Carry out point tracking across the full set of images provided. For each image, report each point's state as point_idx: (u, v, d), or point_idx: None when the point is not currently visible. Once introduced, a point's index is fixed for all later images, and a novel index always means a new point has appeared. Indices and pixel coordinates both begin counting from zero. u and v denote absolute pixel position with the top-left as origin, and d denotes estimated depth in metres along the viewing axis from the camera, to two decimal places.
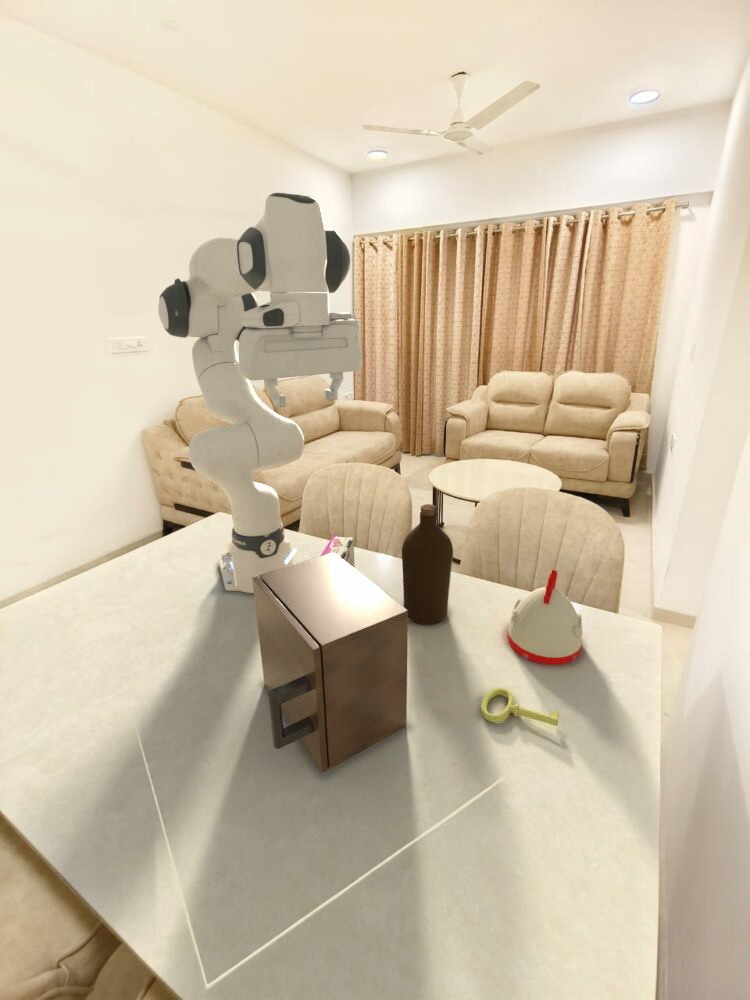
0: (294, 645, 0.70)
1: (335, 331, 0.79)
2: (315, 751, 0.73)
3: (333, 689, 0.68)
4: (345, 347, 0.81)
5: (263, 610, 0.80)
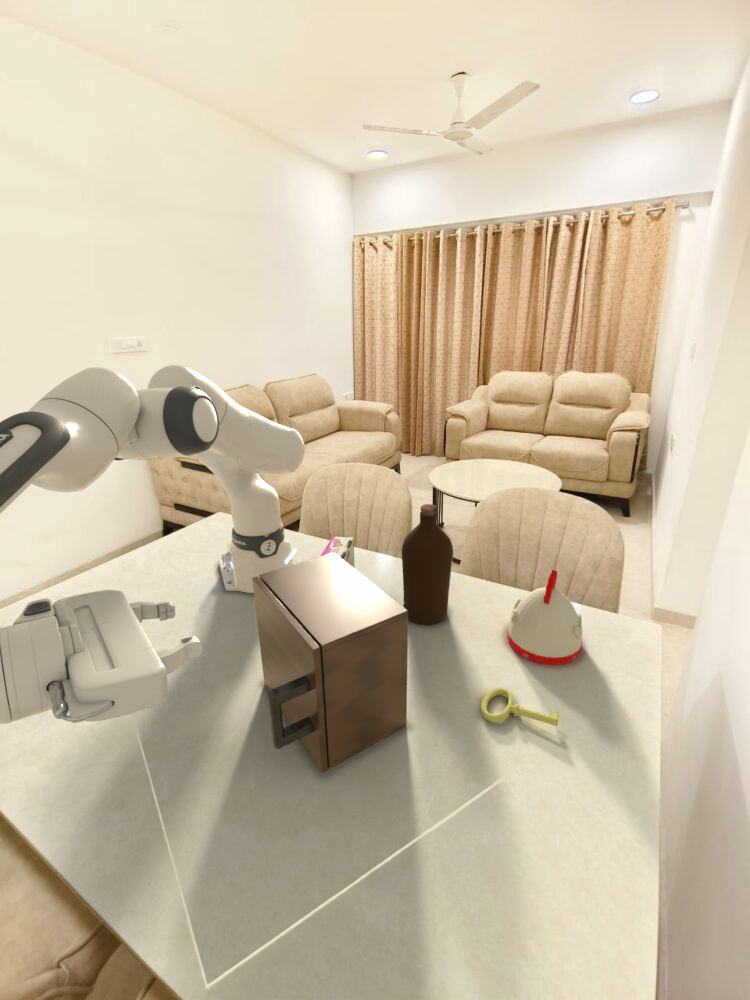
0: (294, 645, 0.70)
1: None
2: (315, 751, 0.73)
3: (333, 689, 0.68)
4: None
5: (263, 610, 0.80)
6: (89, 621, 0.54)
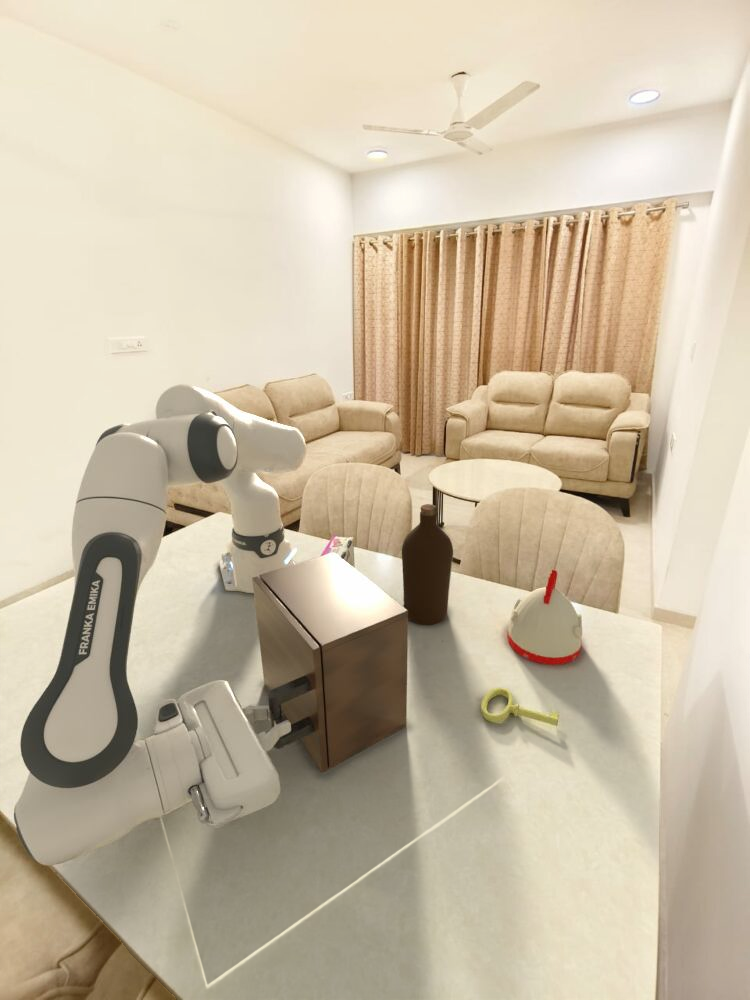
0: (294, 645, 0.70)
1: None
2: (315, 751, 0.73)
3: (333, 689, 0.68)
4: None
5: (263, 610, 0.80)
6: (208, 719, 0.66)
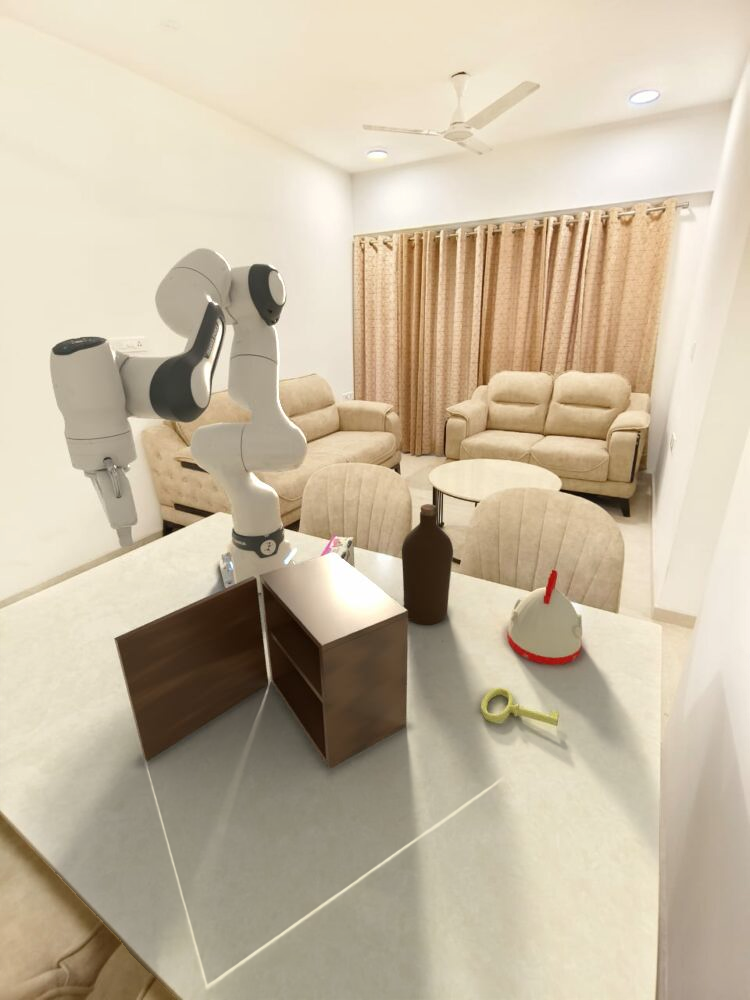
0: None
1: (97, 479, 0.72)
2: None
3: (333, 689, 0.68)
4: (104, 499, 0.71)
5: None
6: None
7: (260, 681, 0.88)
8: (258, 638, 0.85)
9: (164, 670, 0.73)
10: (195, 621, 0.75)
